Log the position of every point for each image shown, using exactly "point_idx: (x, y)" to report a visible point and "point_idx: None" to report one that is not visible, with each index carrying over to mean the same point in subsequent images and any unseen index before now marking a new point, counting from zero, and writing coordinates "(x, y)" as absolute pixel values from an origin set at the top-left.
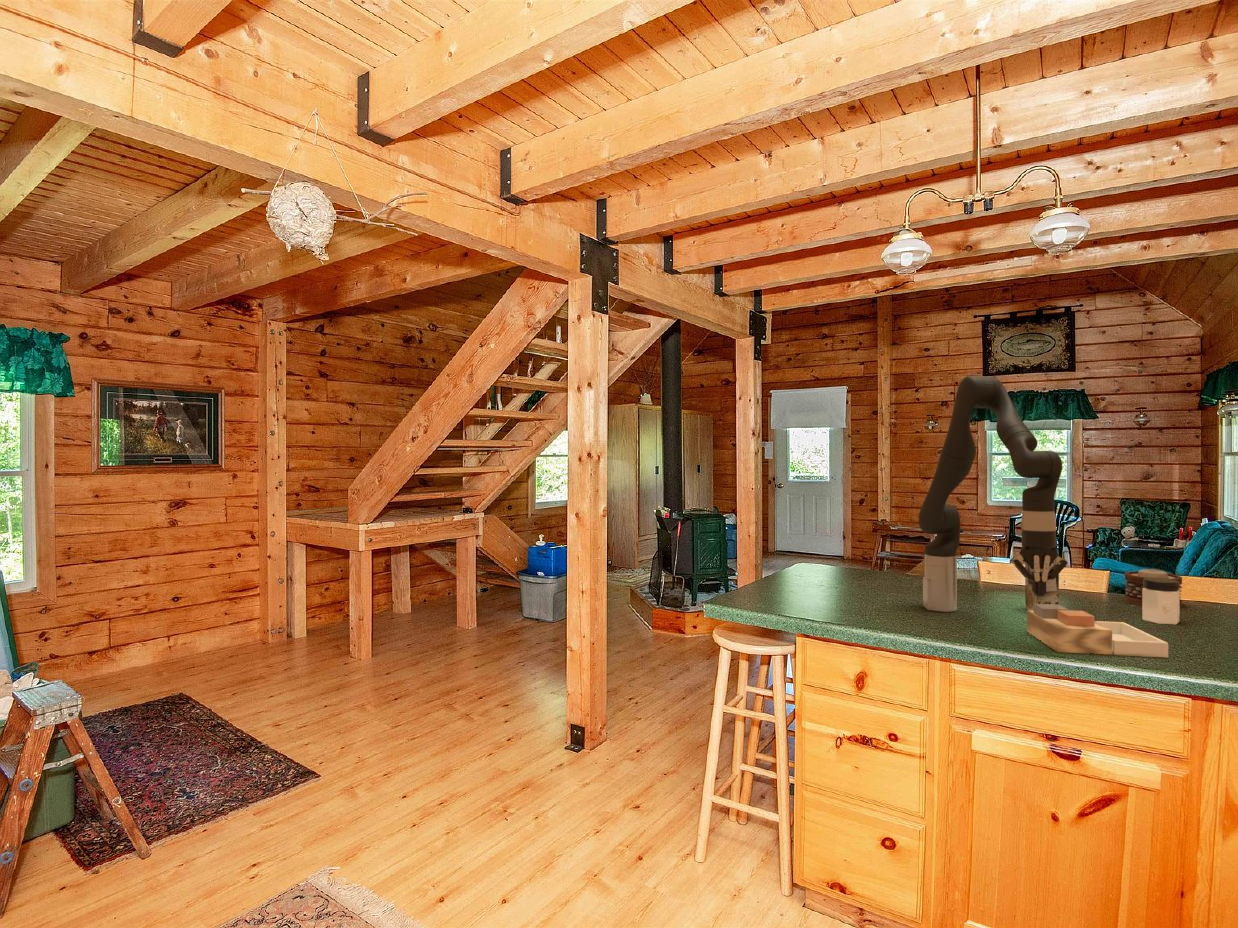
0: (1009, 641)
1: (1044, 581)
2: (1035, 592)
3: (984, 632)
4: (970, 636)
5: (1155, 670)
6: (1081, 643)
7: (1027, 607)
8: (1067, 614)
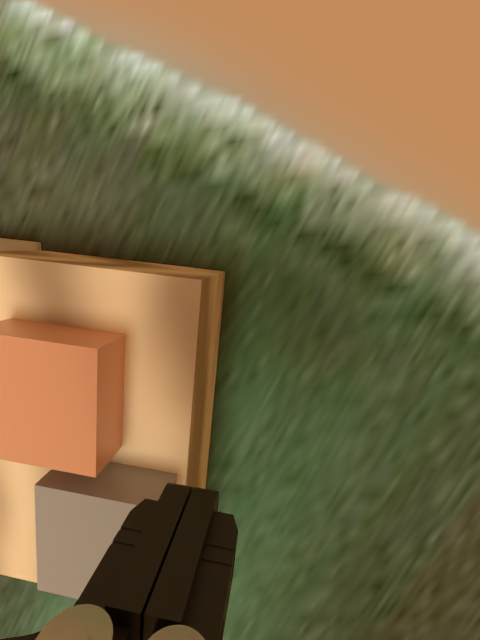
0: (338, 412)
1: (94, 607)
2: (227, 521)
3: (370, 532)
4: (465, 482)
5: None
6: (125, 263)
7: None
8: (87, 374)
